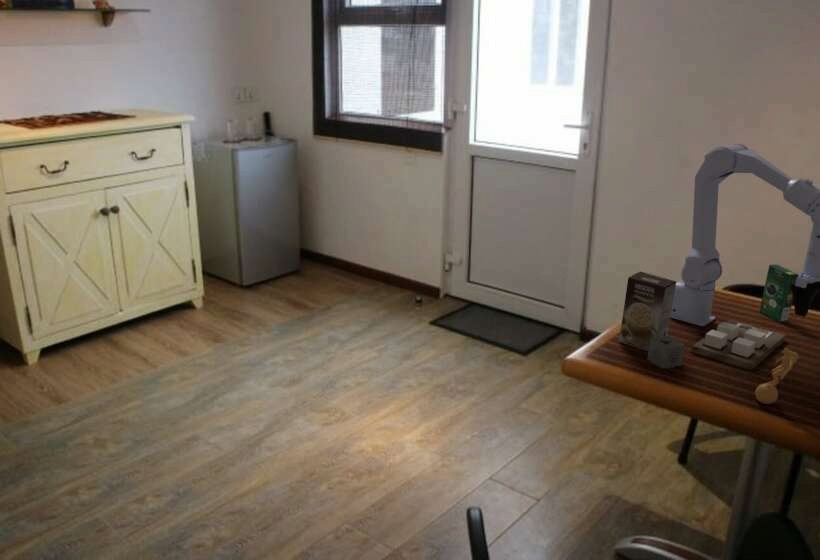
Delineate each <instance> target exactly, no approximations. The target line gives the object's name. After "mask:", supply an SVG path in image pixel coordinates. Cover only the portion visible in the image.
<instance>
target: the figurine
mask: <svg viewBox="0 0 820 560" xmlns="http://www.w3.org/2000/svg"><path fill="white" fill-rule="evenodd" d="M782 353H783V356H781V357H779V358H778V359H776V360H775V364H778V363H779V362H781V364H779V365H778V366H777V367H775V368H773V369H772V370H771V374H772V378H773V380H771V381H768V382H765V383H764V382H763V383H760V384H759V385H758V386H756V388H755V391H754V394H755V395H754V396H755V397H756V399H757V400H758V401H759V402H760V403H761V404H764V405H771V404H773V403H775V402H776V401H777V399H778V396H779V391H778V390H777V387H776V386H777V385H778V384H779V381H780V380H781V381H782V380H784V378H785V376H786V375H787V374H788V373H789V372H790V371H791V369H792V368H793V366H794V364H795V363H797V361H798V360H799V355H798V353H797V352H795V351H792V350H790V349H789V348H788V347H785V348H784V349H783V350H782Z"/></svg>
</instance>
